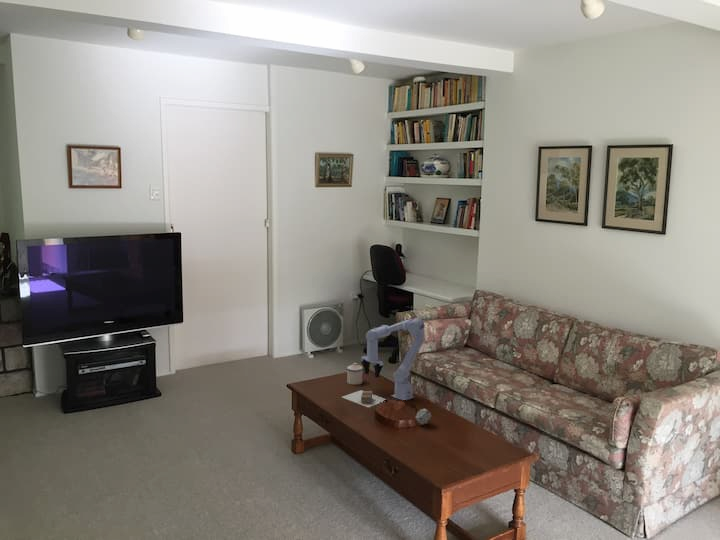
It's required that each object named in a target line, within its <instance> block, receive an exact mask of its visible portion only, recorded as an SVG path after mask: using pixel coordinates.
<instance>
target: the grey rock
mask: <svg viewBox="0 0 720 540" xmlns="http://www.w3.org/2000/svg"><path fill="white" fill-rule="evenodd" d="M432 416H434V414H432V413H431V412H430V411H429V410H428V408H427V406H425V408H421V409H419V408H417V412H416V414H415V417H413V418H412V419H413V420H416V421H417V422H418V424H419V425H420V427H422V426H423V425H427V424H428V425H430V423H431V420H432V419H431V418H432Z"/></svg>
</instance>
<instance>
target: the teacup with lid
mask: <svg viewBox="0 0 720 540" xmlns="http://www.w3.org/2000/svg"><path fill="white" fill-rule="evenodd" d="M346 371H347V373H346V374H347V375H346V377H347V379H346V382H347V384H350V385H353V386H354V385H355V386H356V385H361V384H363V378H364V377H363V371H364V367H363V365H362V366H361V365H359V364H358V363H357V362H353V364H350V365H348V366H347V368H346Z"/></svg>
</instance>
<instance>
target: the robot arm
mask: <svg viewBox="0 0 720 540" xmlns="http://www.w3.org/2000/svg"><path fill="white" fill-rule="evenodd" d="M425 326H426V325H425V323H424V321H423V320H422V319H421V318H420V317H415V318H409V319H405V320H403V321H400V322H398V323H394V324H392V325H390V326H389V325H387V324H382V325H380V326H378V327H373V328H371V329H370V330H367V332H366V333H365V339H366V340H367V341H366V355H363V356H362V355H361V362H360V364H361V365H362V367H363V371H364V374H365V375H368V374H369V373H370V365H371V364H374V365H373V368H374V376H375V378H379V377H380V374H381V371H382V368H383V367H384V361H382V360H381V359H379V357H378V351H379V349H378V347H379V339H382V338H386V337H388V336H390V335H391V333H392V332H396V331H399V330H404V331H407V332H408V333H409V334H410V336H412V338H413V341H412V342H411V345H410V347H409V349H407V350H408V351H407V352H406V355H405V357H404V359H403V360H402V363H401V364H400V365H399V367H398V368H397V370H396V371H395V372H394V373H393V376H392V377H393V380H394V394H391V395H390V396H391V397H393V398H395V399H399V400H402V401H403V400H406V401H408V400H411V399H413V398H414V395H413V394H414V385H413V384H412V383H411V382H410V381H409V377H410V374H411V369H412V365H413V363H414V362H415V359H416V357H417V355H418V353H419V351H420V350H421V347H422V345H423V343H424V341H425V339H426V338H425V337H426V336H425V335H426V334H425Z"/></svg>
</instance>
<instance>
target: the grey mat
mask: <svg viewBox="0 0 720 540" xmlns="http://www.w3.org/2000/svg"><path fill="white" fill-rule="evenodd" d="M363 391H364V390H361V389H360V390H358V391H354V392H352V393H349V394H346V395H343V396H341V399H342V398H343V399H345V400H347V401H349V402H353V403H355V404H358V405H362V406H363V407H366V408H371V407H373V406H376V405H378V404H381V403H383V401H384V400H386V398H385V397H384V398H383V397H381V396H379V395H376V394H373V393H372V401H371V404H365V403H361V396H362V393H363ZM380 402H381V403H380ZM384 402H385V401H384Z"/></svg>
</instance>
